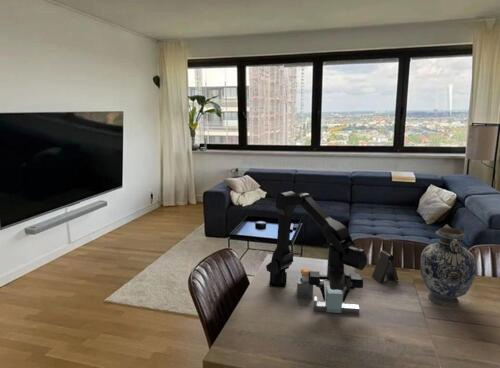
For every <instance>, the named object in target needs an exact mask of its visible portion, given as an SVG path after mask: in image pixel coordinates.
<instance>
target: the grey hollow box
mask: <svg viewBox="0 0 500 368" xmlns="http://www.w3.org/2000/svg"><path fill="white" fill-rule="evenodd" d="M301 280H302V275H300V276H299V275H298V276H297V279H296V299H297V298H300V299H312V300H314V296H313V295H314V285H310V284H309V283H308V282H301Z"/></svg>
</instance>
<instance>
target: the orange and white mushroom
mask: <svg viewBox="0 0 500 368" xmlns="http://www.w3.org/2000/svg"><path fill="white" fill-rule="evenodd" d="M310 271H311V269H308V268H301V269H300V274H301V277H302V280H301V282H308V273H309V272H310ZM308 283H309V282H308Z"/></svg>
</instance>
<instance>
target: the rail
mask: <svg viewBox="0 0 500 368" xmlns="http://www.w3.org/2000/svg"><path fill="white" fill-rule="evenodd" d="M312 304H313V307H312V308H313V312H314V311H315V312H325V313H328V312H327V305H326V301H318V297H317V296H313V303H312ZM340 314H353V315H354V314H355V315H359V314H360V306H359V304H355V303H345V302H342V310H341V313H340Z"/></svg>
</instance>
